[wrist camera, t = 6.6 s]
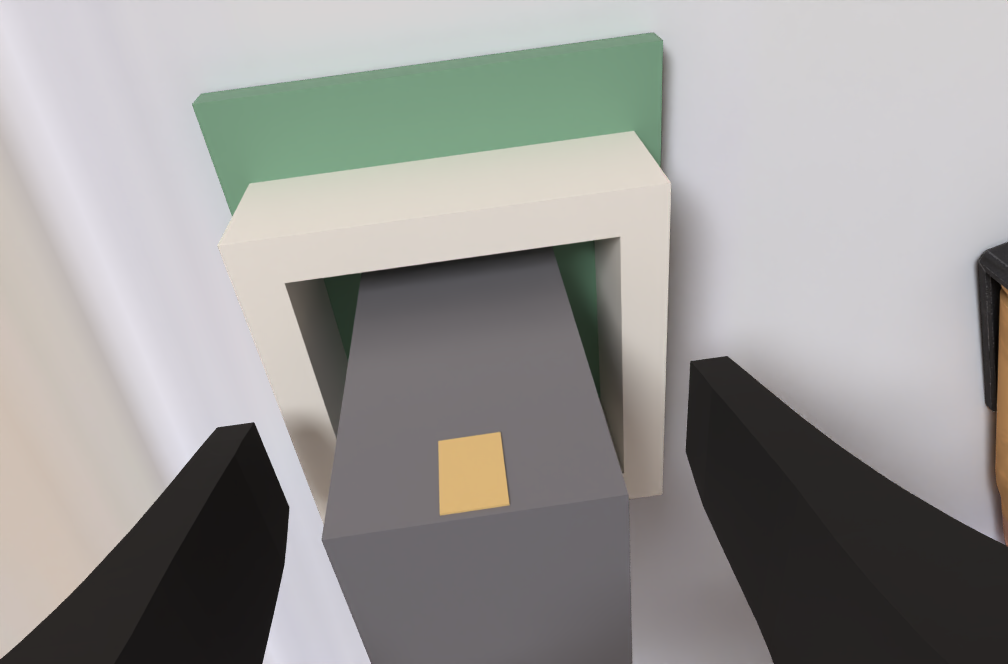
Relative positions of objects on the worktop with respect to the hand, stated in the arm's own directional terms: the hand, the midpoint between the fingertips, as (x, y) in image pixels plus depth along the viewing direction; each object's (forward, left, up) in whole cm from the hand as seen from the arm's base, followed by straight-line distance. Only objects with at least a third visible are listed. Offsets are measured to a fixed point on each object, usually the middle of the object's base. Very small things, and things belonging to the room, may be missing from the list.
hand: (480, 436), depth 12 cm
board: (0, 0, -4) cm, 4 cm away
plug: (0, 0, -4) cm, 4 cm away
